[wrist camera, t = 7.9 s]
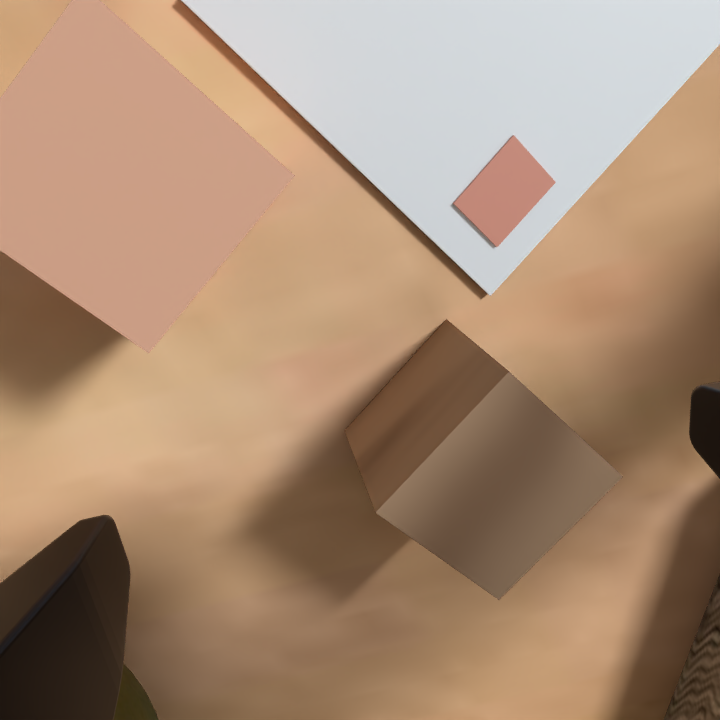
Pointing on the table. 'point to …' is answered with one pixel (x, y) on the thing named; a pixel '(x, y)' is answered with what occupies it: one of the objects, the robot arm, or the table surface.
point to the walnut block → (474, 462)
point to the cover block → (123, 175)
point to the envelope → (474, 99)
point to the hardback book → (701, 671)
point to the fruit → (133, 700)
